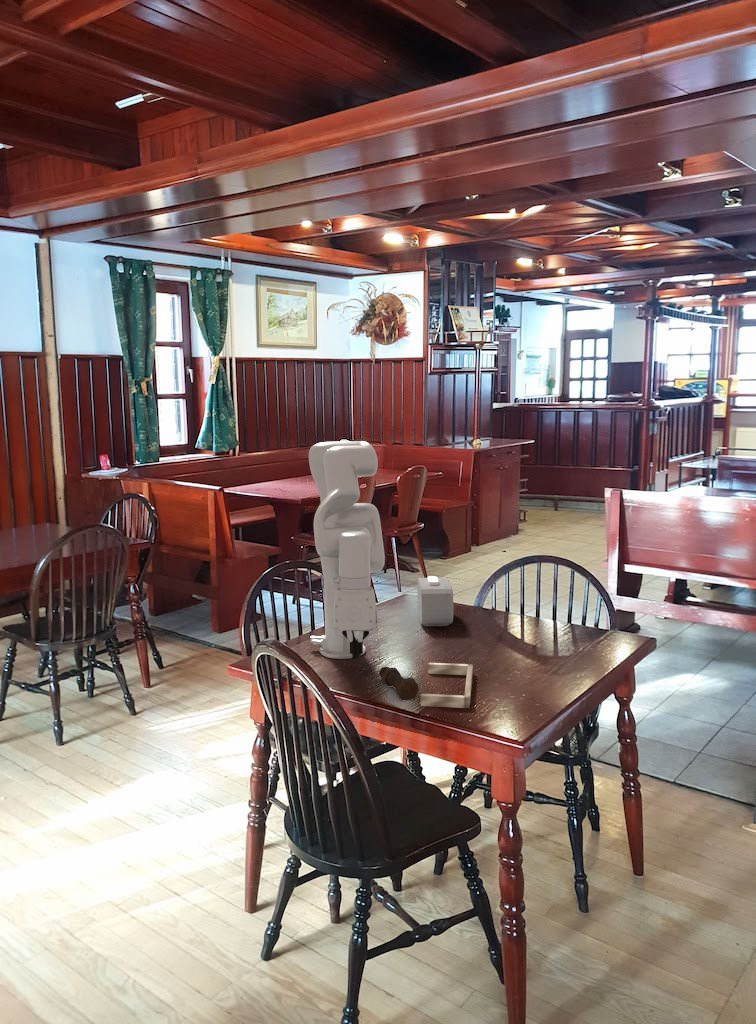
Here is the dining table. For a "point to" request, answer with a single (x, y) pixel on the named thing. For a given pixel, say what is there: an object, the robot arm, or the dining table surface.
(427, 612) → the grey rounded box
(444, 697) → the dock
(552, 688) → the dining table surface
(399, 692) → the bolt
